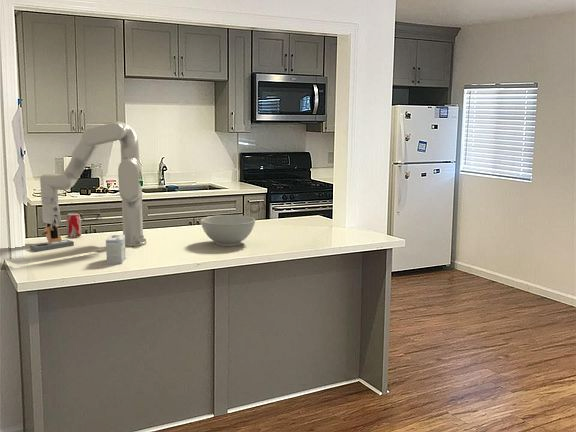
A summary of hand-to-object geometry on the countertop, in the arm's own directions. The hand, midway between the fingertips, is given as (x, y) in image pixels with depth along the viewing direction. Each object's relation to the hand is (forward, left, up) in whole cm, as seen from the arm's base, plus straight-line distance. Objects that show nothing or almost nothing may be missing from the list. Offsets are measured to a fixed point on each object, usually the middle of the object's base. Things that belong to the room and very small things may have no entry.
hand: (52, 237), depth 315 cm
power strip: (-10, +5, -4) cm, 12 cm away
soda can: (+12, -18, -4) cm, 22 cm away
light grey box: (-49, -5, -4) cm, 49 cm away
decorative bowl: (-57, -63, -4) cm, 85 cm away
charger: (0, -2, -3) cm, 3 cm away
